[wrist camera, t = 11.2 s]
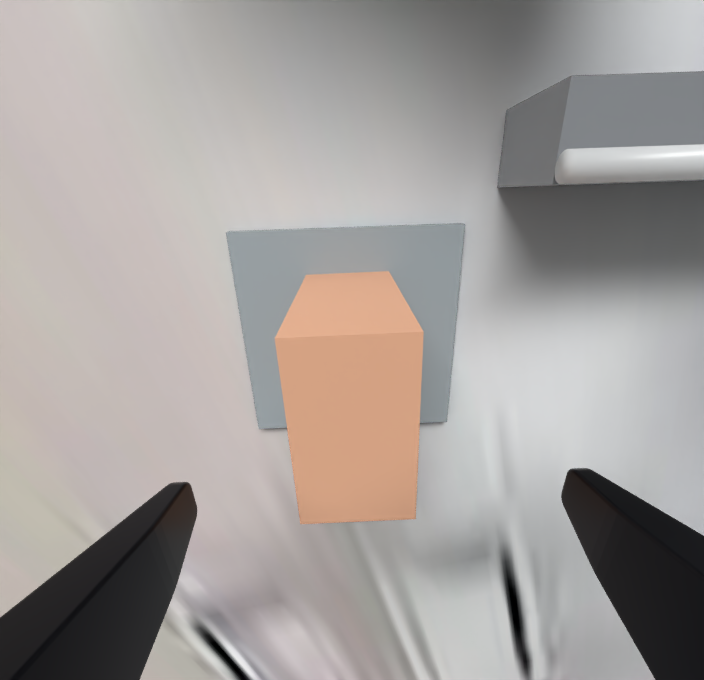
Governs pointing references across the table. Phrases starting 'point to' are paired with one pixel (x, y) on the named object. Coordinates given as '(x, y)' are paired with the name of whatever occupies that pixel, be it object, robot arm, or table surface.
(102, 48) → the table surface
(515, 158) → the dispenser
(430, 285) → the mat
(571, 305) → the table surface
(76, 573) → the robot arm
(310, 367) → the peach rectangular block
